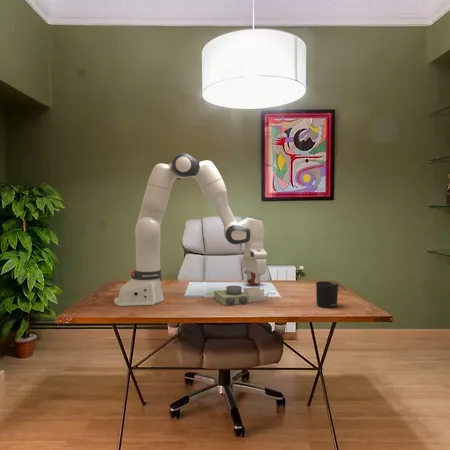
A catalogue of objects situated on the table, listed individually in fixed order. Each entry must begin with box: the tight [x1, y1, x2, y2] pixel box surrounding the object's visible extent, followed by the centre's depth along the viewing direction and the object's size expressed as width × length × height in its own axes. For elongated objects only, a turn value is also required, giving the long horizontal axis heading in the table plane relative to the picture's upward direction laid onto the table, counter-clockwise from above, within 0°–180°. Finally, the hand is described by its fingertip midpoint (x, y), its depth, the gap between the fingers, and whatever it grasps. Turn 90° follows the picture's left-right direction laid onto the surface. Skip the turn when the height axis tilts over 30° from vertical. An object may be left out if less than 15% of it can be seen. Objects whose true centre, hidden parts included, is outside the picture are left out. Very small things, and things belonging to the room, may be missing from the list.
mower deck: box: [213, 285, 269, 306], centre depth 190 cm, size 22×15×6 cm
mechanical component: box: [244, 269, 261, 287], centre depth 224 cm, size 12×10×10 cm
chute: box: [243, 286, 265, 297], centre depth 193 cm, size 8×6×5 cm
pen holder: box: [315, 281, 339, 309], centre depth 180 cm, size 9×9×10 cm
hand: (252, 281), depth 192 cm, fingers open, 8 cm apart
